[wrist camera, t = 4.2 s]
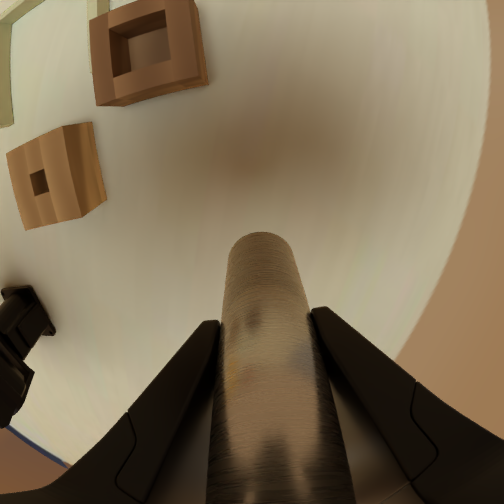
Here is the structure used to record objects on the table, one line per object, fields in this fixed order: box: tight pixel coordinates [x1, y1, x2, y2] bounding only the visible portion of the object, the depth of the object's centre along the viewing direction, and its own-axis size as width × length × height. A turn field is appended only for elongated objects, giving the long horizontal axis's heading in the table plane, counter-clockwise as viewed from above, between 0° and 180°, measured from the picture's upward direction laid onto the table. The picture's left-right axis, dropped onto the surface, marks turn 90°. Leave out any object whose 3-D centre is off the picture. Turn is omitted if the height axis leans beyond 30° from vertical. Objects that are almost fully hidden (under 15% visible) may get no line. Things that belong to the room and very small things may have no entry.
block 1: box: [6, 122, 107, 230], centre depth 16 cm, size 6×6×4 cm
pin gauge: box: [205, 232, 357, 504], centre depth 6 cm, size 2×2×9 cm
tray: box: [0, 0, 109, 128], centre depth 11 cm, size 12×12×2 cm
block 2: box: [89, 0, 209, 107], centre depth 12 cm, size 6×6×4 cm
